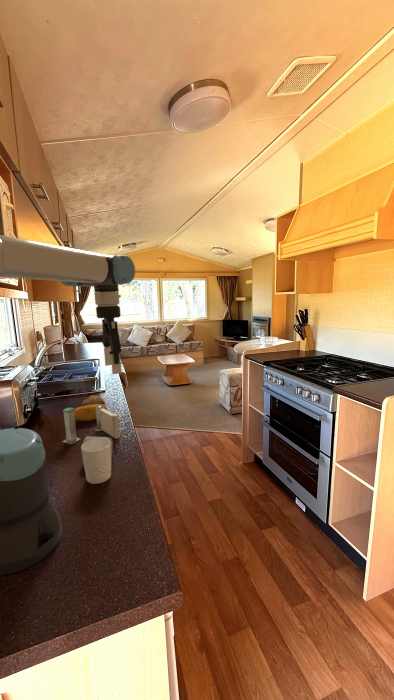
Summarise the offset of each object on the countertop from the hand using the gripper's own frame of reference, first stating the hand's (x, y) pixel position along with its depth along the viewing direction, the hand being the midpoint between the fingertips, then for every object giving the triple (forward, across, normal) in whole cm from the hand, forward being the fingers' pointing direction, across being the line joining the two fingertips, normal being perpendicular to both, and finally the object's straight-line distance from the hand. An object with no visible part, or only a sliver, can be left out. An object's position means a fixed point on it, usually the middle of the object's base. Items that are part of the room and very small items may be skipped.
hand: (112, 369), depth 101 cm
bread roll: (+27, +40, +4) cm, 49 cm away
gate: (+26, +8, +2) cm, 27 cm away
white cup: (+27, -18, +9) cm, 34 cm away
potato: (+27, +26, +6) cm, 39 cm away
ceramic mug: (+27, -7, +8) cm, 29 cm away
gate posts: (+27, +12, +10) cm, 31 cm away
